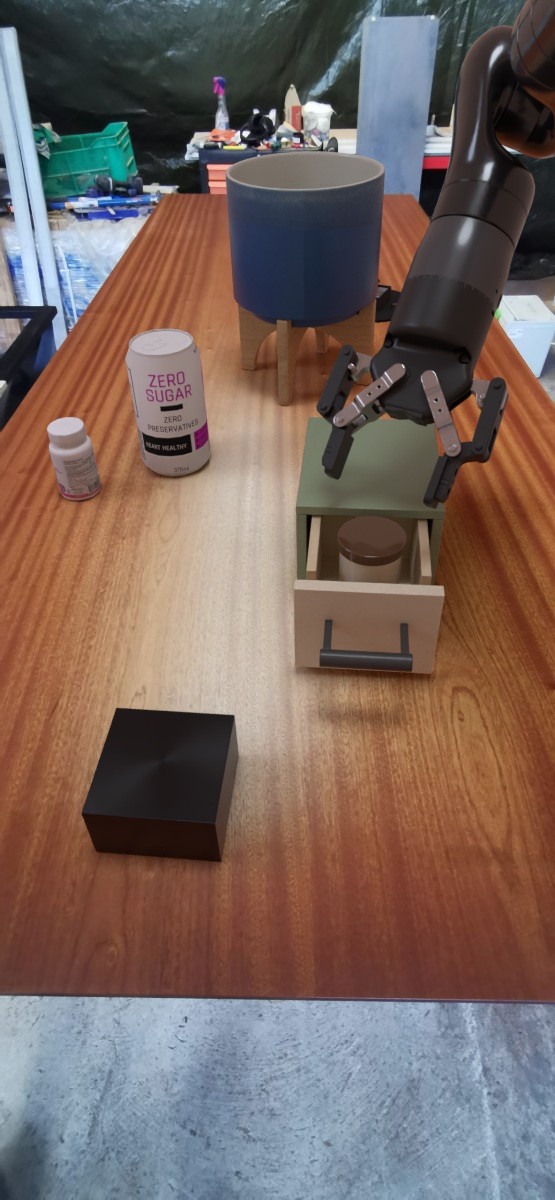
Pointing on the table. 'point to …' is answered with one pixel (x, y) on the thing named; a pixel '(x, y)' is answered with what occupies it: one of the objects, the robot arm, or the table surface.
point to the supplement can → (168, 401)
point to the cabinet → (370, 479)
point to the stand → (163, 784)
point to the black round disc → (385, 303)
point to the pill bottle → (73, 459)
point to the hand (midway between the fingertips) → (379, 490)
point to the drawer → (367, 607)
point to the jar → (370, 550)
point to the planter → (305, 253)
